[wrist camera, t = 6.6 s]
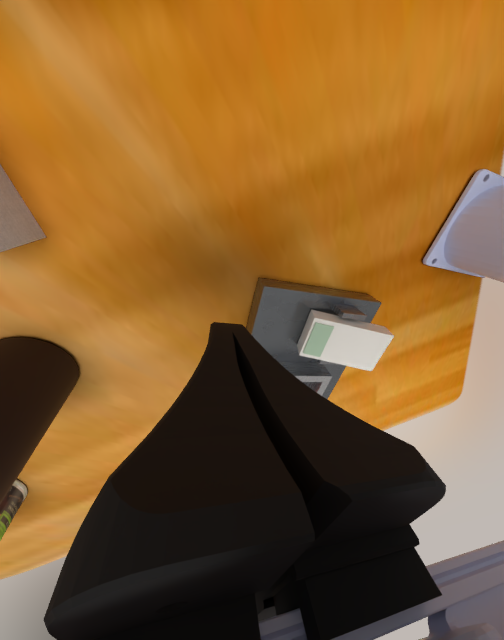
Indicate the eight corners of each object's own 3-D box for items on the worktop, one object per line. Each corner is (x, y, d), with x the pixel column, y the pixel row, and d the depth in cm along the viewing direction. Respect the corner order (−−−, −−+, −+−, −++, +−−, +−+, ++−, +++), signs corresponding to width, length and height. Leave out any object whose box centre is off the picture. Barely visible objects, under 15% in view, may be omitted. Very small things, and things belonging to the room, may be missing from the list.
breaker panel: (368, 294, 22) (397, 312, 19) (313, 399, 30) (327, 426, 27) (258, 277, 19) (271, 296, 16) (228, 401, 26) (232, 432, 23)
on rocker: (385, 326, 20) (395, 336, 18) (364, 360, 22) (372, 372, 20) (311, 309, 19) (315, 318, 18) (296, 345, 21) (299, 356, 20)
